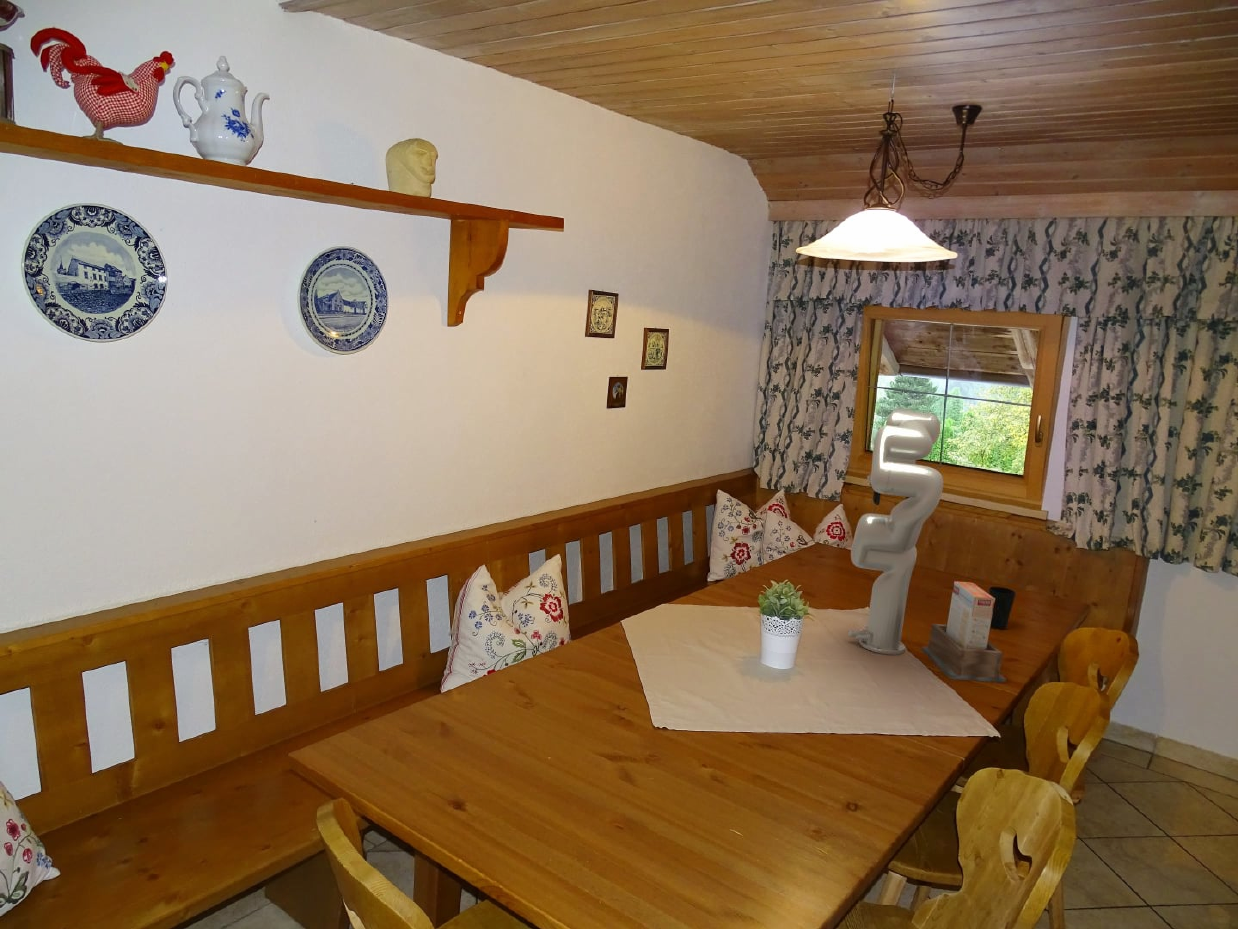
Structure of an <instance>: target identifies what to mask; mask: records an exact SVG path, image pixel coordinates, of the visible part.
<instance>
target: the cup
mask: <svg viewBox="0 0 1238 929" xmlns="http://www.w3.org/2000/svg"><path fill="white" fill-rule="evenodd" d="M988 594H989V595H991V596H992V597H993V598H995V602H994V607H993V613H992V619H991V624H990V627H991V628H990V629H993V628H994V629H993V630H996V629H999V630H998V631H1005V630H1007V626H1008V623H1009V619H1010V616H1011V613H1012V612H1011V611H1012V608H1013V604H1014V601H1015V598H1016V595H1017V594H1016V591H1014V590H1013V589H1011V588H1007V587H1003V586H990V587H989V589H988ZM1004 629H1005V630H1004Z"/></svg>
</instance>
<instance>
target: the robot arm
mask: <svg viewBox="0 0 1238 929" xmlns="http://www.w3.org/2000/svg"><path fill="white" fill-rule="evenodd" d="M940 435H941V422H940V420H939V417H938V416H937V415H936V414H934V413H930V412H922V411H916V410H914V409H907V408H895V409H893V411H891V412H890V413H889V414H888V415H887V418H886V423H885V424H884V425H883V426H881V427H879V429H878V430H877V432H876V434H875V437H874V441H873V448H872V458H871V459H872V460H871V461H872V463H871V472H870V474H868V475H867V476H866V478H867V482H868V484H869V486H870V487H871V488H872V490H873V496H872V502H873V503H874V504H875V505H876V506H880V502H881V501H880V500H881V495H882V494H883V495H890V496H898V497H899V496H900V497H905V499H903V500H902V501H900V502H899V503H898V504H896V505H894V507H893V508H892V509H891V511H890V514H889V515H887V514H879V513H873V512H872V513H869V512H868V513H865V514H862V515H861V517H860V518H859V520H858V522H857V525H856V529H855V533H854V537H853V540H852V545H851V547H850V548H851V549H850V559H851V563H852V564H853V565H854V566H855V567H857V568H861V569H866V570H867V569H868V570H873V571H880V572H882V573H881V574H880V575H879V576H878V577H877V578H876V579H875V580H874V583H873V585H872V589H871V596H870V603H869V610H868V617H867V625H866V626H863V628H862V629H860V630H856V629H849V630H848V636H849V637H851V638H854V637H855V639H856V640H859V641H858V644H859V645H860V646H861V647H863V648H864V649H866V650H868V651H870V650H871V652H874V653H878V654H881V655H889V656H890V655H891V656H892V655H893V656H894V655H896V656H897V655H900V654H903V653H905V651H906V646H905V644H904V643H903V642H901V640H902V632H903V626H904V618H905V611H906V605H907V601H908V600H907V598H908V592H909V586H910V583H911V578H912V573H913V571H914V567H915V564H916V562H917V557H918V556H917V554H918V551H917V547H916V544H917V542H918V539H919V537H920V534H921V531H922V528H923V526H924V523H925V521H927V519H928V518H929V517H930V516H931V515H932V513H934V511H935V509H936V508H937V506H938V504H939V502H940V500H941V497H942V493H943V488H944V478H943V475H942V474H941V473H940V472H939V471H938V470H937V469H935V468H933V467H930V466H926V465H920V464H916V461H918V460H923V459H925V458H927V457H928V456H929V455H930V454H931V452H932V450H933V447H934V446H933V445H934V444H936V442H938V439H939V437H940Z"/></svg>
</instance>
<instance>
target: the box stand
mask: <svg viewBox="0 0 1238 929" xmlns="http://www.w3.org/2000/svg"><path fill="white" fill-rule="evenodd" d="M946 630H947V624H939V623H931V628H930V634H929V641H928V646H924V645H922V646H921V649H920V650H921V651H922V652H923V653H924V654H925V655H926V656H927V657H928V658H929V659H930V661H932V663H934V664H935V665H936V666H937V667H938V668H939V669H940V671H941V672H942V673H943V674H944V675H945V676H946V677H947V678H948V679H949V680H961V681H962V680H963V681H976V682H991V681H993V682H991V683H1003V682H1005V683H1006V678H1005V677H1004V676H1003V675H1002V674H1000V672H1001V666H1002V660H1003V655H1004V654H1003V652H1002V650H1000V649H999V648H998V647H996V645H994V644H993V643H992V642H990V641H989V640H988V642H987V647H986V650H976V649H963V648H962V647H961V646H960V645H959V644H957V643H956V642H955V641H954V640H953V639H952V638H951V637H950V636H949V635H948V634H947V633H946Z"/></svg>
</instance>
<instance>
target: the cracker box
mask: <svg viewBox="0 0 1238 929" xmlns="http://www.w3.org/2000/svg"><path fill="white" fill-rule="evenodd" d="M994 602H995V598H993V597H992V596H991V595H989V592H986V590H984V589H983V588H981V587H980V586H978V585H977V584H975V582H971V581H969V582H967V581H958V580H957V581H954V582H953V587H952V594H951V600H950V607H949V613H948V617H947V619H948V620H947V624H946V625H947V630H946V633H947V634H948V635H949V636H950V637H951V638H952V639H953V640H954V641H955V642H956V643H957V644H959V645H960V646H961V647H962V648H963V649H976V650H986V647H987V642H988V641H989V640H988V639H989V635H990V629H991V628H990V624H991V619H992V613H993V607H994Z"/></svg>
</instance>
